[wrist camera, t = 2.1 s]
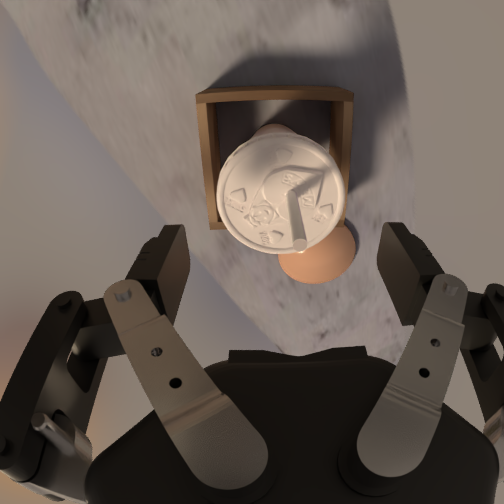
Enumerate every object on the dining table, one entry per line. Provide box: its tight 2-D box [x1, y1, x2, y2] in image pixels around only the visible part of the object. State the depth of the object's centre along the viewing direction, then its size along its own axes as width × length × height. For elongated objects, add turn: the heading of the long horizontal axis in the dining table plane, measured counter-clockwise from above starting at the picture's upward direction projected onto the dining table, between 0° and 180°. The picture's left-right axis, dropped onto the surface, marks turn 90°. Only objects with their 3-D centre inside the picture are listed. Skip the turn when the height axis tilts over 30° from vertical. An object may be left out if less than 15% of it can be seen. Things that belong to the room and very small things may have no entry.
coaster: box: [278, 225, 356, 284], centre depth 28 cm, size 7×7×1 cm
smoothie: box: [217, 124, 345, 254], centre depth 17 cm, size 6×6×14 cm
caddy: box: [196, 85, 354, 230], centre depth 21 cm, size 10×10×4 cm
